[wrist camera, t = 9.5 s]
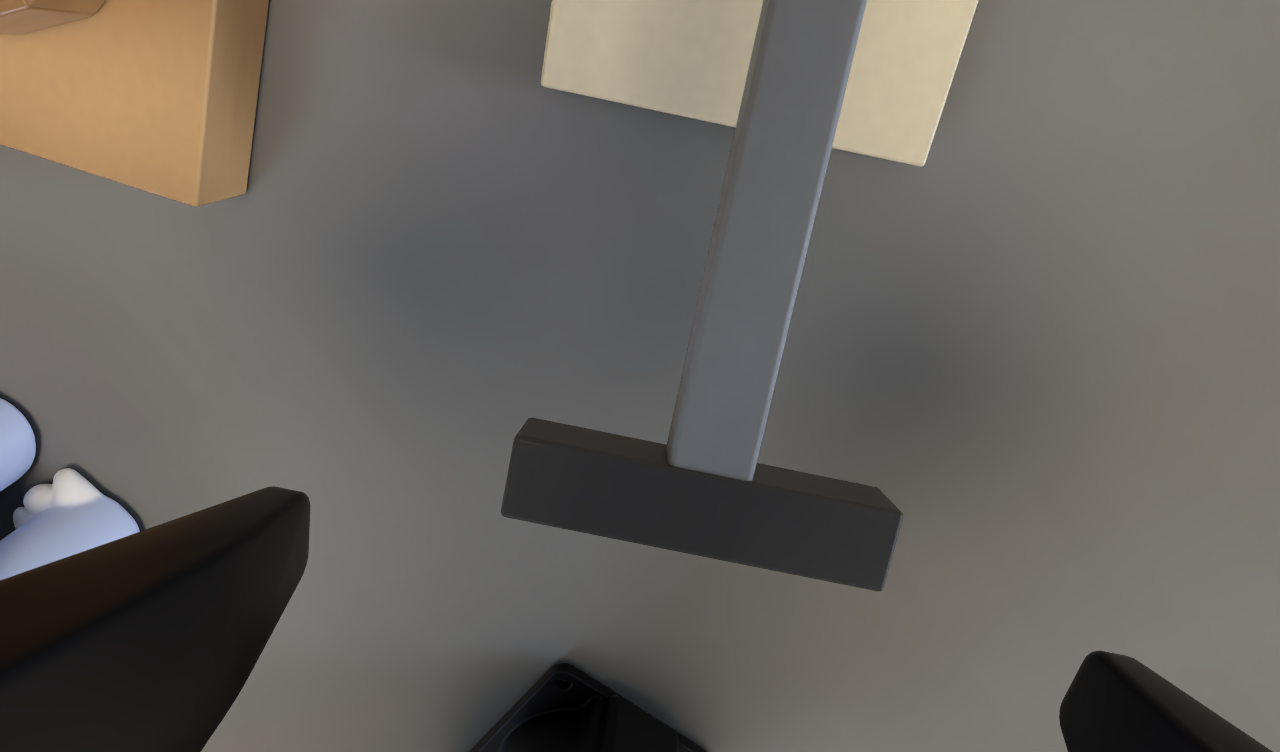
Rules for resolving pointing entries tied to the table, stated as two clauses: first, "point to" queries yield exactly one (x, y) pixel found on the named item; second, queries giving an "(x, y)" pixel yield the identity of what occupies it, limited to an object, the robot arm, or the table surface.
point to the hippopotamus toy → (51, 506)
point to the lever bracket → (720, 56)
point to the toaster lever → (734, 355)
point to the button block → (136, 90)
